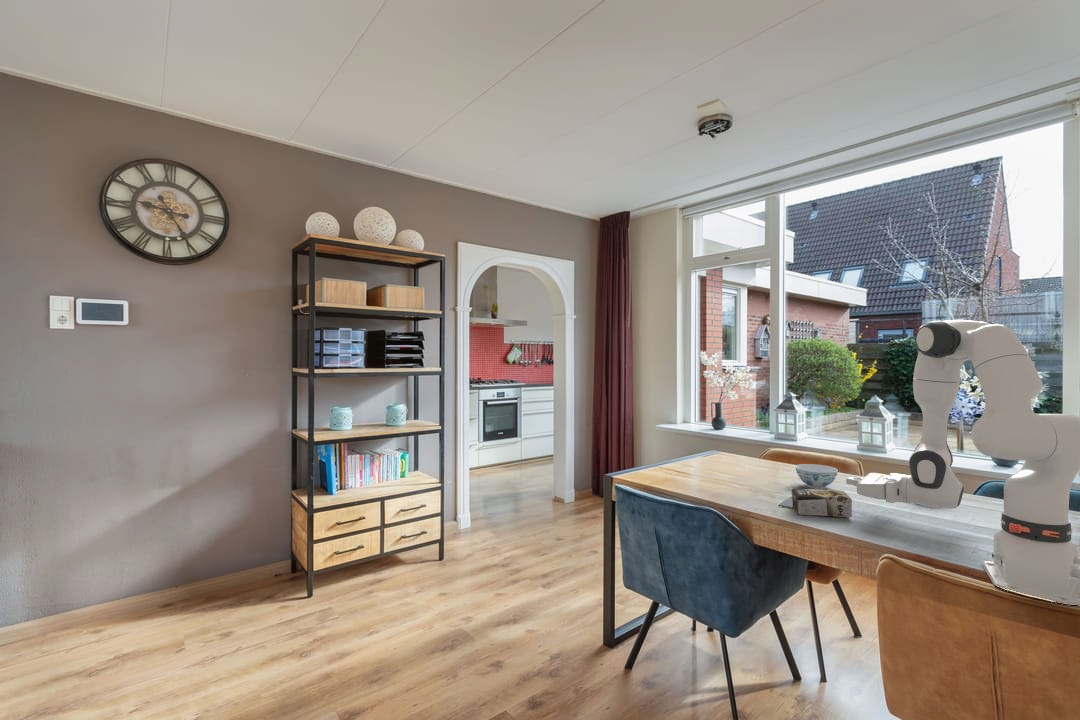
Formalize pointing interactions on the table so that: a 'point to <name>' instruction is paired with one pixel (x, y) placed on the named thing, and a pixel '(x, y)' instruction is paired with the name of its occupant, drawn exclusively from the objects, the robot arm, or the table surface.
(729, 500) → the table surface
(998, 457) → the robot arm
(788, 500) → the slate mat
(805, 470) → the chinaware
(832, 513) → the coffee box
